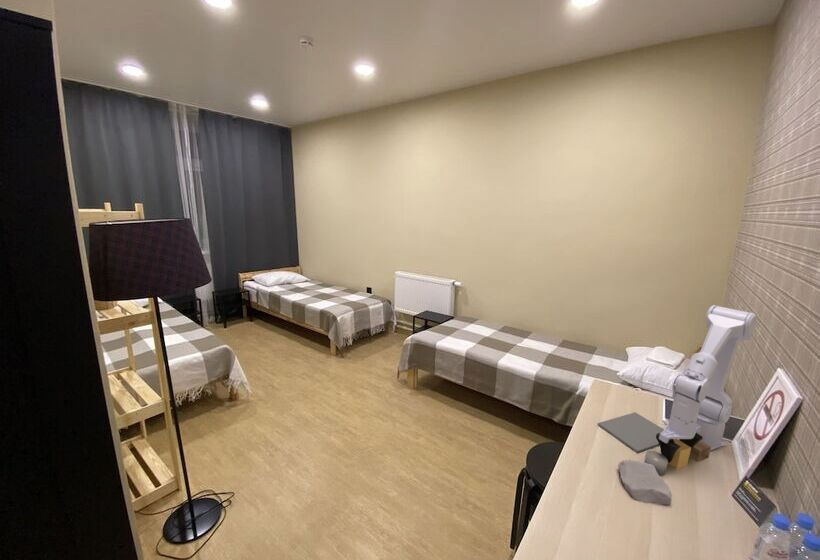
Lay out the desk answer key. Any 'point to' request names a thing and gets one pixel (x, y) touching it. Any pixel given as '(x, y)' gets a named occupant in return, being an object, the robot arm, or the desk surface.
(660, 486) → the stone block
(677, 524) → the desk surface
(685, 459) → the ochre block
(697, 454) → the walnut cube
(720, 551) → the desk surface
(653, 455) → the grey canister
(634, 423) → the slate mat
